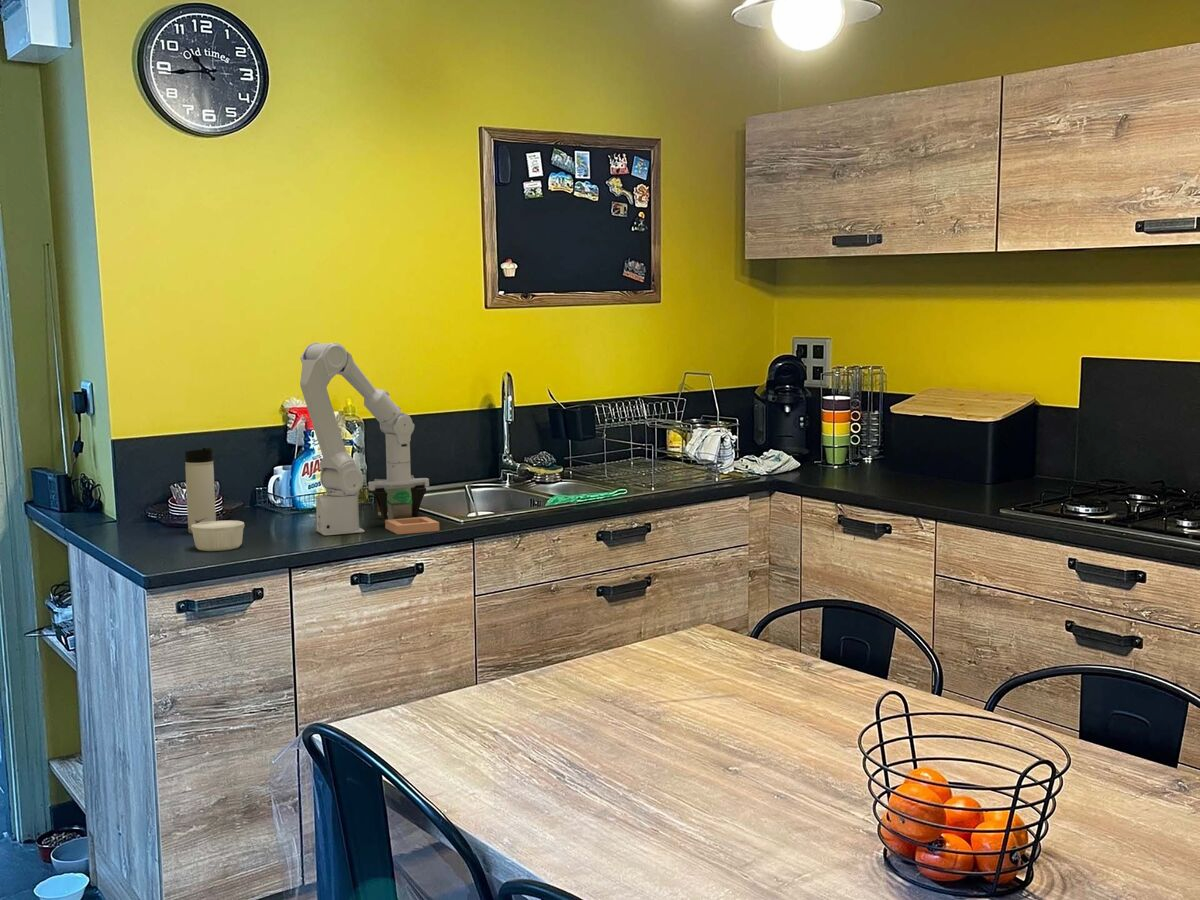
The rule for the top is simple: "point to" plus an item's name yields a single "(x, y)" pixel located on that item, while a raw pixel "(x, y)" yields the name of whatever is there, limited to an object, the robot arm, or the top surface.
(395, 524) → the hole plate
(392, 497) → the food container
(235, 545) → the ramekin
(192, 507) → the travel mug
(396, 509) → the steel block
